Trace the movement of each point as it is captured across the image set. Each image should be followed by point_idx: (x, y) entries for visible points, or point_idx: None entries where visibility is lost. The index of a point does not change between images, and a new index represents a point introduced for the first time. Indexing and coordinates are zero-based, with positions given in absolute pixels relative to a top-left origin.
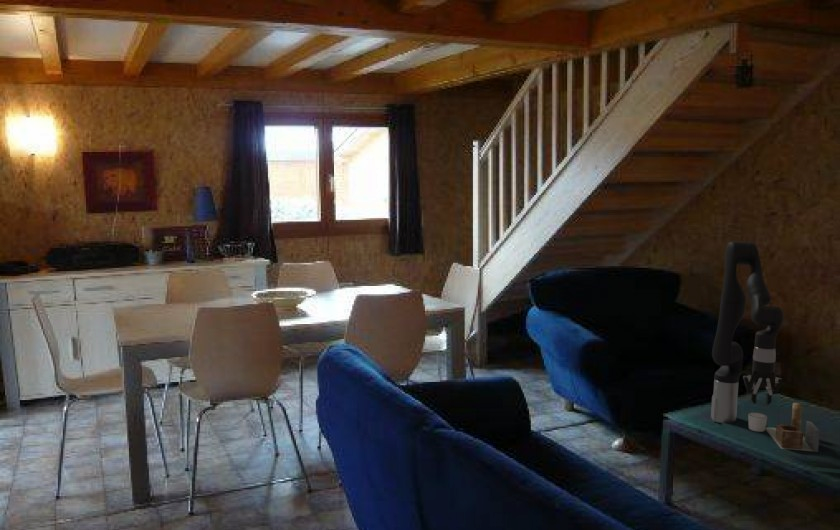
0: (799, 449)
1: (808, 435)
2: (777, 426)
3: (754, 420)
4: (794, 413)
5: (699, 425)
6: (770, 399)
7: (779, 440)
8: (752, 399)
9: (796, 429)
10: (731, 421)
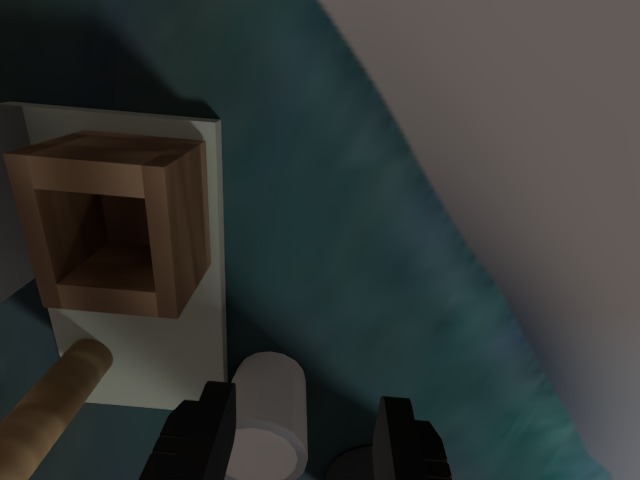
0: (102, 122)
1: (2, 235)
2: (179, 289)
3: (285, 411)
4: (23, 446)
5: (521, 421)
6: (165, 454)
7: (201, 197)
8: (439, 458)
9: (54, 246)
10: (359, 458)
